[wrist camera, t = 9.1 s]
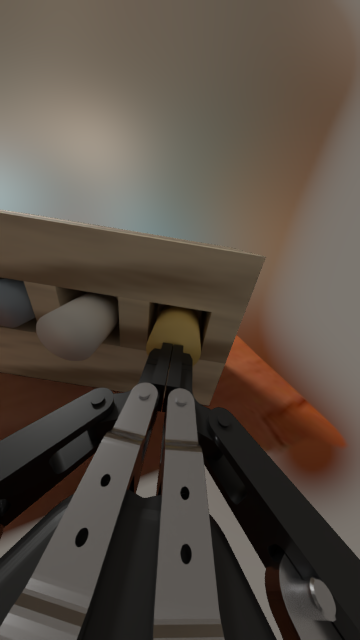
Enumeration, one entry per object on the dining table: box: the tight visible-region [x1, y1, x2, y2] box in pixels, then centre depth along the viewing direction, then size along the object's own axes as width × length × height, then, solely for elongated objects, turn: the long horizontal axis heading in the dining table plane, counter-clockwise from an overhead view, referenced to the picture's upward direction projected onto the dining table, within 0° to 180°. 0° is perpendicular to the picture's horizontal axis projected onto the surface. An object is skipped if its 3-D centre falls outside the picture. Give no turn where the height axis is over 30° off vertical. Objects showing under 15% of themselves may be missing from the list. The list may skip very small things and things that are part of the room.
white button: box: [36, 292, 119, 361], centre depth 13 cm, size 5×4×4 cm
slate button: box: [0, 278, 36, 328], centre depth 15 cm, size 5×4×4 cm
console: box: [0, 210, 266, 406], centre depth 18 cm, size 10×25×16 cm, turn 86°
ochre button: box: [146, 305, 201, 368], centre depth 14 cm, size 5×4×4 cm
